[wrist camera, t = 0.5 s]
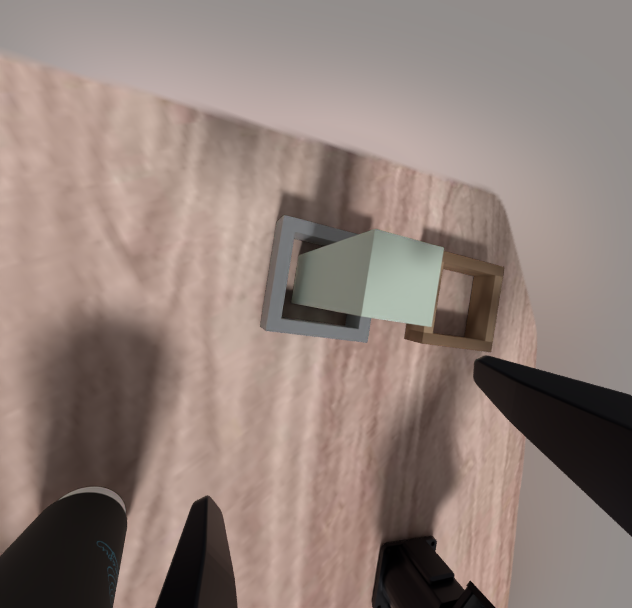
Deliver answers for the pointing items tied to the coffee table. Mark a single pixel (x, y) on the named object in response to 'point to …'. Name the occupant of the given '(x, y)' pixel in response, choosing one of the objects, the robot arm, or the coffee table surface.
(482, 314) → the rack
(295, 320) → the socket
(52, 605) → the dixie cup
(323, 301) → the peg
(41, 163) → the coffee table surface
